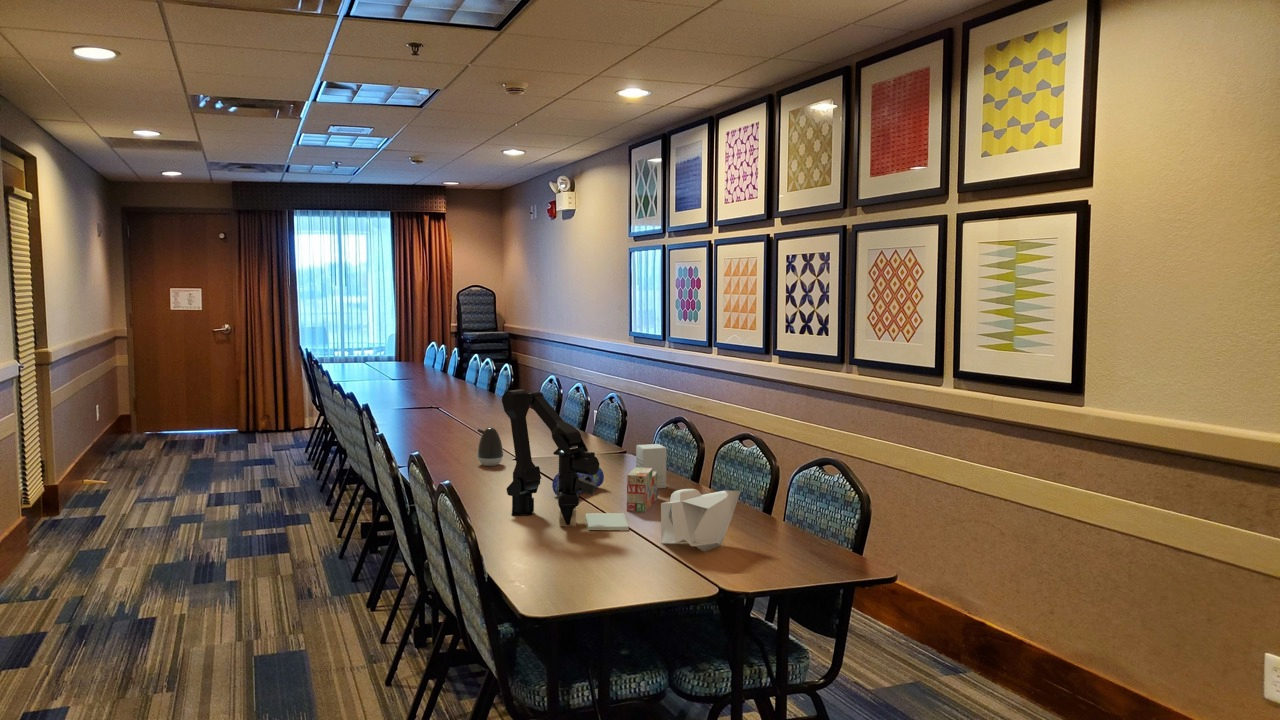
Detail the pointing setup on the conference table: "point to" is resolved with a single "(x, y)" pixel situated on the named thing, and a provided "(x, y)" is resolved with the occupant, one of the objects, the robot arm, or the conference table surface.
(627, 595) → the conference table surface
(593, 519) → the sage board
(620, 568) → the conference table surface
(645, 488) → the stack of blocks
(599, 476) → the pencil case
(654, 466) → the supplement box
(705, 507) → the folded paper
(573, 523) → the beige cube
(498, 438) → the grey egg-shaped body
